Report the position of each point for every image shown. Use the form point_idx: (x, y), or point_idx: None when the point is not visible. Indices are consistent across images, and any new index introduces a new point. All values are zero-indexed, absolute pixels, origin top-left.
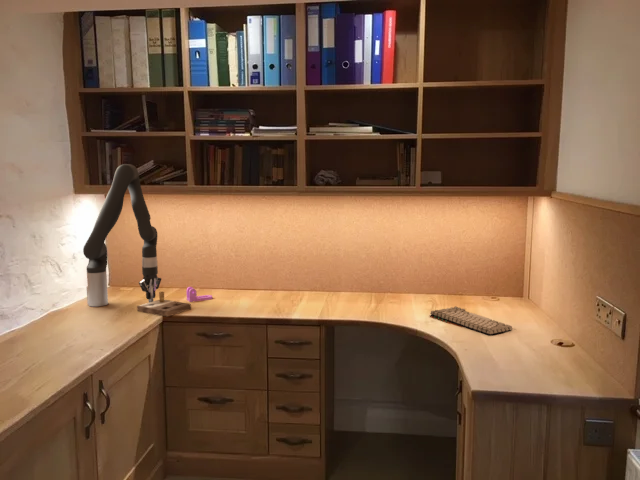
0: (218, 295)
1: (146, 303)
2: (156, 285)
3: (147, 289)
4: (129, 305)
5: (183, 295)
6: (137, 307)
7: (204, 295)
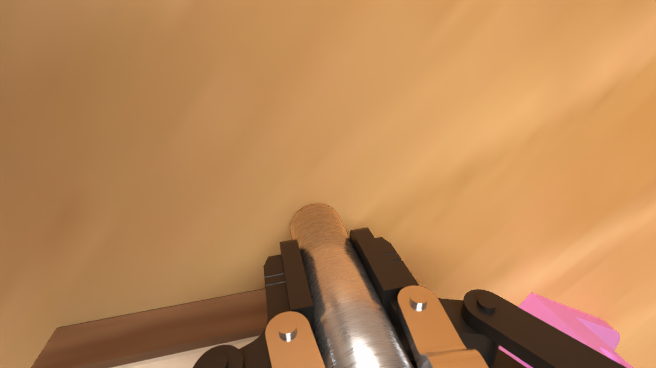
0: (647, 327)
1: (163, 363)
2: (536, 333)
3: (312, 355)
4: (98, 61)
5: (643, 182)
6: (36, 365)
7: (609, 331)
